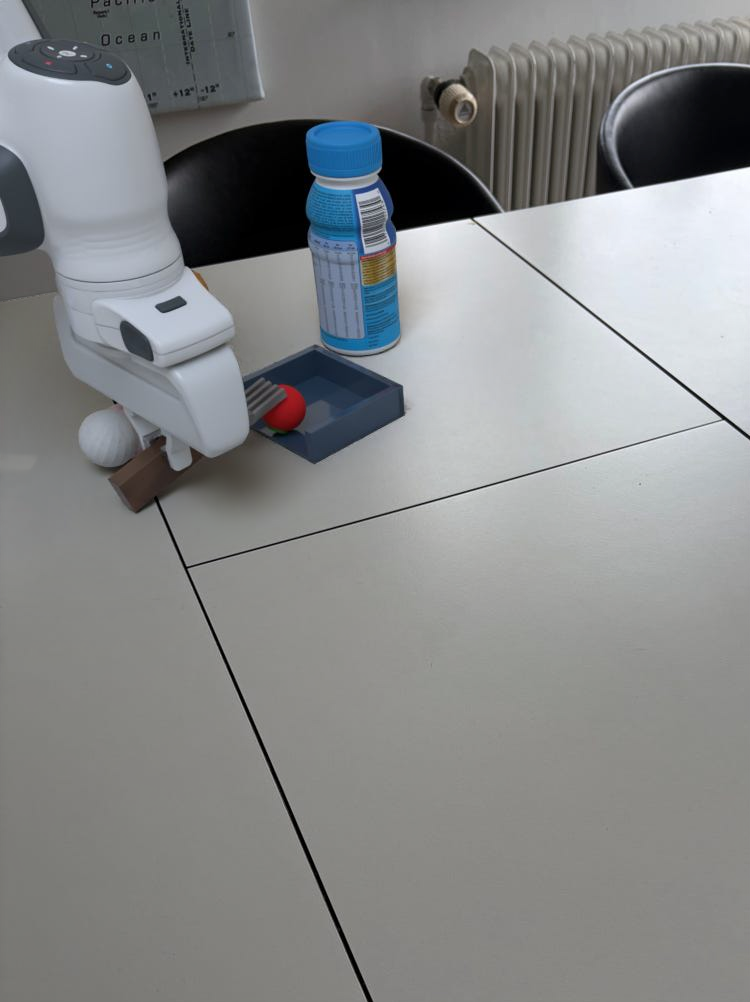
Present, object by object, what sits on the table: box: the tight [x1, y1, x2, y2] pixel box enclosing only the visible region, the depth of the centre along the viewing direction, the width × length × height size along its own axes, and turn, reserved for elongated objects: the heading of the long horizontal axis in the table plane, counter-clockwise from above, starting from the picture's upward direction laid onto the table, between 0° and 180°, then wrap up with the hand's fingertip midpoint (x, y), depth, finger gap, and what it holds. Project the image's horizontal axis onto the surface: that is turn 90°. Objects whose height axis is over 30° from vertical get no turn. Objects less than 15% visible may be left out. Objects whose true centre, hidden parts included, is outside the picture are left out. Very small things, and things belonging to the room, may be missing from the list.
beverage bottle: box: [305, 120, 402, 357], centre depth 100 cm, size 8×8×20 cm
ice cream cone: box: [77, 403, 144, 468], centre depth 92 cm, size 5×5×15 cm
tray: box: [242, 343, 406, 465], centre depth 95 cm, size 12×11×3 cm
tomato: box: [262, 385, 306, 434], centre depth 92 cm, size 4×4×4 cm
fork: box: [107, 377, 287, 513], centre depth 86 cm, size 16×3×3 cm, turn 138°
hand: (168, 458), depth 85 cm, fingers closed on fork
